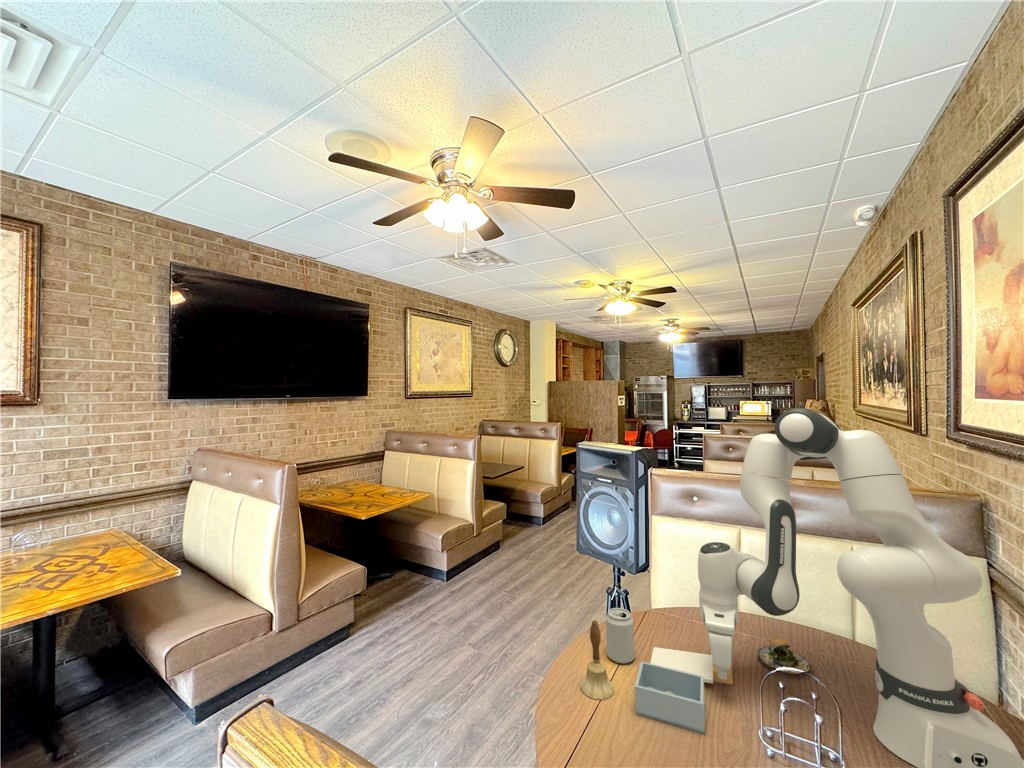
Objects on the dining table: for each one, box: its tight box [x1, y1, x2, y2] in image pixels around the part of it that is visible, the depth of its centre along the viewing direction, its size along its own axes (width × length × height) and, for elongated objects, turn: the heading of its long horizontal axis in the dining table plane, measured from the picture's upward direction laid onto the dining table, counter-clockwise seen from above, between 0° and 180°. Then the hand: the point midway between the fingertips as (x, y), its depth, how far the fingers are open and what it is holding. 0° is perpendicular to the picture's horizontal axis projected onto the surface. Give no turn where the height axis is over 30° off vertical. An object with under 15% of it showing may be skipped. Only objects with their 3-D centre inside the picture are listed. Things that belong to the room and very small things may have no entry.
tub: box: [634, 660, 706, 735], centre depth 92 cm, size 14×10×6 cm
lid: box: [649, 646, 734, 686], centre depth 105 cm, size 19×11×2 cm, turn 65°
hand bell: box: [579, 620, 615, 701], centre depth 100 cm, size 8×8×16 cm
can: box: [605, 607, 636, 665], centre depth 112 cm, size 8×8×12 cm
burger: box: [757, 630, 813, 675], centre depth 107 cm, size 12×12×8 cm
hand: (721, 666), depth 102 cm, fingers open, 8 cm apart
